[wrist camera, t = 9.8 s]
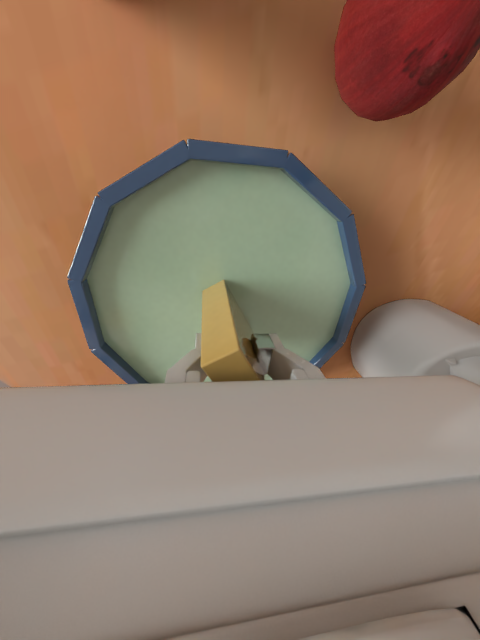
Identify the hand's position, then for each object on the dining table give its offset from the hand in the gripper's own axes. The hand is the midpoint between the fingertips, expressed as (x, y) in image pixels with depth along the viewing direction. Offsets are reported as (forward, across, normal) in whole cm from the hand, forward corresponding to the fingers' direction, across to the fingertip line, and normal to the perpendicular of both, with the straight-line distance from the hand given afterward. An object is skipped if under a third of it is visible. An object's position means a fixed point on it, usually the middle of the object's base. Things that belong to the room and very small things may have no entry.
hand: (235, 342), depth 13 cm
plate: (+5, 0, 0) cm, 5 cm away
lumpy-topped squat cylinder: (+7, -19, +5) cm, 21 cm away
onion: (+7, -7, -15) cm, 17 cm away
